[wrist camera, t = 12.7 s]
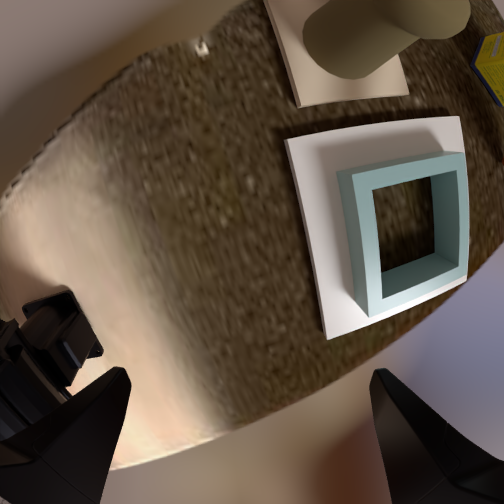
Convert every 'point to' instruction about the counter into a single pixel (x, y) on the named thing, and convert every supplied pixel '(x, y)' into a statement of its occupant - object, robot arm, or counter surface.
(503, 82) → the supplement box
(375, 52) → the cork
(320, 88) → the pad
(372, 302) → the housing
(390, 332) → the counter surface
